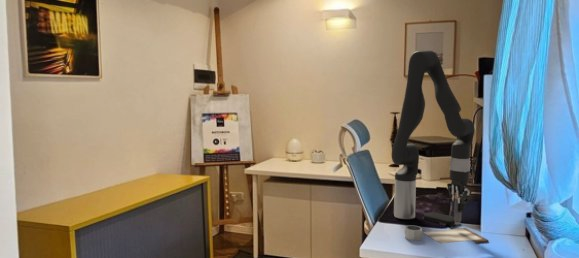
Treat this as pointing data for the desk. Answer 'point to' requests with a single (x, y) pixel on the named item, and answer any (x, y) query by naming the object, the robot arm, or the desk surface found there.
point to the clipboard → (455, 236)
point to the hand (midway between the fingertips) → (457, 210)
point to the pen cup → (413, 233)
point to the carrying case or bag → (440, 219)
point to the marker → (457, 214)
